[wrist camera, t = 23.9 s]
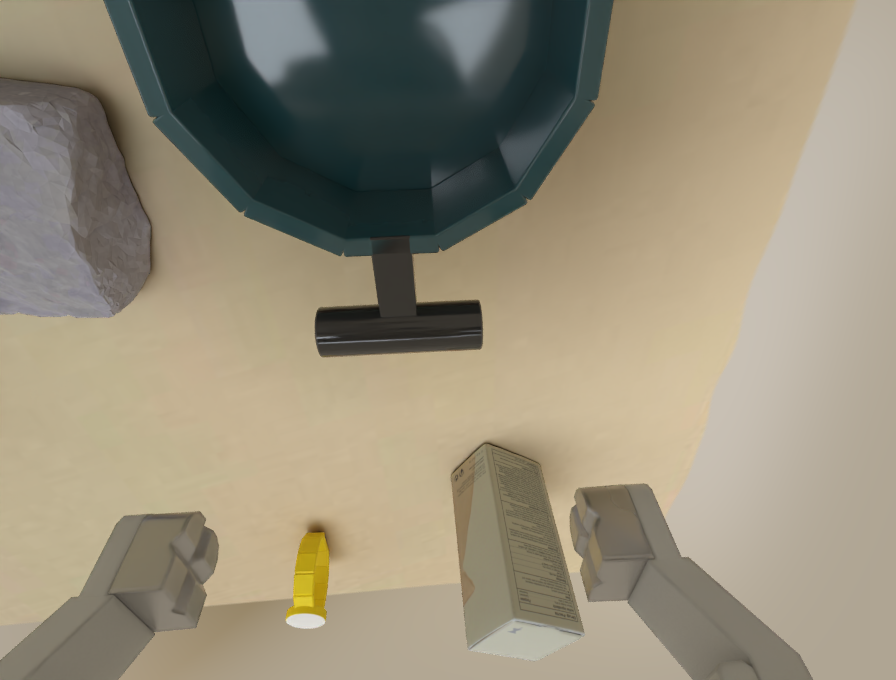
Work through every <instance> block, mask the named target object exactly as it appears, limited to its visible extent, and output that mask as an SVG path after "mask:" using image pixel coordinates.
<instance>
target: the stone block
mask: <svg viewBox="0 0 896 680" xmlns="http://www.w3.org/2000/svg"><path fill="white" fill-rule="evenodd" d="M150 237H151V225H150V223H149V220H148V218H147V216H146V214H145V212H144V211H143V209H142V207H141V205H140V202H139V199H138V197H137V194H136V192H135V190H134V189H133V187H132V184H131V182H130V179H129V176H128V174H127V171H126V168H125V161H124V158H123V156H122V154H121V153H120V151H119V149H118V147H117V145H116V142H115V140H114V137H113V135H112V132H111V130H110V127H109V125H108V123H107V118H106V114H105V112H104V110H103V107H102V105H101V103H100V101H99V100H98V98H97V97H95V96H94V95H92V94H91V93H88V92H86V91H83V90H81V89H78V88H74V87H66V86H61V85H55V84H46V83H37V82H25V81H18V80H12V79H5V78H0V314H15V313H18V312H19V313H22V314H26V315H35V316H39V317H48V316H50V317H61V316H67V315H70V316H73V317H75V318H100V317H108V318H109V317H112V316H114V315H115V314H116V313H119V312H120V311H121V310H122V309H123V308H125V307H126V306H127V305H128V304H129V303H131V302H132V301H133V300H134V298H135V297H136V296H137V294H138V292H139V291H140V290H141V288H142V286H143V284H144V282H145V280H146V278H147V276H148V275H149V274H150V267H151V262H150Z"/></svg>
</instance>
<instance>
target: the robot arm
mask: <svg viewBox="0 0 896 680" xmlns="http://www.w3.org/2000/svg"><path fill="white" fill-rule="evenodd" d="M574 498H575V501H576V505H575V506H574V507H572V508H571V513H570V531H571V537H572V542H573V546H574V550H575V551H576V552H577V553H578V554H579V555H580V556H581V557H582V558H583V562H582V565H581V569H580V573H581V576H582V580H583V584H584V587H585V591H586V595H587V598H588V601H589V602H596V601H621V600H628V604H629V605H630V606H631V607H632V608H633V609H634V611H635V612H636V613H637V614H638V615H639V617H641V619H642V620H643V621H644V623H645V624H646V625H647V626H648V627H649V628H650V629H651V630H652V632H653V633H654V634H655V635H656V637H657V638H658V639H659V640H660V641H661V642H662V644H663V645H664V646H665V647H666V649H667V650H668V651H669V652H670V653H671V654H672V656H673V657H674V658H675V659H676V660H677V661H678V663H679V664H680V665H681V666H682V667H683V669H685V671H686V672H687V673H688V674H689V676H690V677H691V678H692V679H693V680H813V679H812V677H811V675H810V673H809V671H808V669H807V667H806V666H805V664H804V662H803V660H802V658H801V656H800V655H799V654H798V653H797V652H796V651H795V650H794V649H793V648H791V647H790V646H789V645H788V644H787V643H786V642H785V641H783V640H782V639H781V638H780V637H779V636H778V635H777V634H776V633H774V632H773V631H772V630H771V629H770V628H769V627H768V626H766V625H765V624H764V623H763V622H762V621H761V620H760V619H758V618H757V617H756V616H755V615H754V614H753V613H752V612H750V611H749V610H748V609H747V608H746V607H745V606H744V605H742V604H741V603H740V602H739V601H738V600H737V599H735V598H734V597H733V596H732V595H731V594H730V593H729V592H728V591H727V590H725V589H724V588H723V587H722V586H721V585H720V584H719V583H717V582H716V581H715V580H714V579H713V578H712V577H711V576H709V575H708V574H707V573H706V572H705V571H704V570H703V569H701V568H700V567H699V566H698V565H697V564H696V563H695V562H693V561H692V560H691V559H690V558H689V557H681V555H680V553H679V550H678V548H677V546H676V543H675V541H674V539H673V537H672V534H671V532H670V530H669V528H668V525H667V523H666V521H665V518H664V516H663V514H662V512H661V509H660V507H659V505H658V502H657V500H656V498H655V496H654V493H653V491H652V489H651V488H650V487H649V486H648V485H647V484H644V483H643V484H628V485H609V486H597V487H584V488H578V489H577V490H576V492H575V496H574ZM205 521H206V518H205V517H204V516H203V514H202V513H201V512H200V511H197V512H181V513H165V514H142V515H128V516H124V517H123V518H122V519H121V520H120V521H119V522H118V523H117V524H116V525H115V527H114V529H113V531H112V533H111V535H110V537H109V539H108V541H107V543H106V545H105V547H104V549H103V551H102V552H101V554H100V556H99V558H98V560H97V562H96V564H95V566H94V568H93V570H92V572H91V574H90V576H89V578H88V580H87V582H86V584H85V586H84V587H83V589H82V591H81V593H80V595H79V597H71V598H70V599H69V600H68V601H67V602H66V603H64V604H63V605H62V606H61V607H60V608H59V609H58V610H56V611H55V612H54V613H53V614H52V615H51V616H50V617H49V618H47V619H46V620H45V621H44V622H43V623H42V624H41V625H40V626H38V627H37V628H36V629H35V630H34V631H33V632H32V633H31V634H29V635H28V636H27V637H26V638H25V639H24V640H23V641H21V643H19V644H18V645H17V646H16V647H15V648H14V649H12V650H11V651H10V652H9V653H8V654H7V655H6V656H5V657H3V658H2V659H1V660H0V680H118V679H119V678H120V677H121V675H122V674H123V673H124V672H125V671H126V669H127V668H128V667H129V666H130V665H131V663H132V662H133V661H134V660H135V658H136V657H137V656H138V655H139V653H140V652H141V651H142V650H143V649H144V648H145V646H146V645H147V644H148V643H149V641H150V640H151V639H152V638H153V637H154V635H155V633H154V632H160V631H170V630H181V629H191V628H196V627H197V623H198V620H199V617H200V614H201V611H202V608H203V605H204V602H205V599H206V596H207V594H206V592H205V589H204V586H203V584H204V583H205V582H206V581H207V580H208V579H209V578H210V577H211V575H212V574H213V573H214V570H215V567H216V563H217V560H218V549H219V544H218V540H217V536H216V534H215V533H214V531H213V530H211V529H209V528H207V527H205V526H204V524H205Z"/></svg>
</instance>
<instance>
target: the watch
mask: <svg viewBox="0 0 896 680" xmlns="http://www.w3.org/2000/svg"><path fill="white" fill-rule="evenodd" d="M324 535H325V533H323V532H320V533H307V534H306V535H305V536H304V537H303V538H302V540H301V544H300V547H299V550H298V554H297V560H296V566H295V575H294V589H293V594H294V596H293V601H294V606H292V607H290V608H289V609H288V610H287V614H286V622H287V624H288V625H290V626H293V627H296V628H305V629H309V628H316V627H320V626H322V625H323V624H324V623H325V621H326V613H327V611H326V610H325V609H324V606H325V601H326V595H327V588H328V584H327V583H328V576H329V549H328V546H327V542H326V539H325V536H324Z"/></svg>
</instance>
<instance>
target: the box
mask: <svg viewBox="0 0 896 680" xmlns="http://www.w3.org/2000/svg"><path fill="white" fill-rule="evenodd" d="M451 482H452V492H453V503H454V513H455V523H456V534H457V544H458V554H459V565H460V575H461V586H462V597H463V607H464V618H465V627H466V638H467V648H468V650H470V651H476V652H482V653H489V654H495V655H501V656H507V657H513V658H518V659H523V660H529V661H537V660H539V659H542V658H544V657H546V656H548V655H549V654H551V653H553V652H555V651H557V650H559V649H561V648H563V647H565V646H567V645H569V644H571V643H573V642H575V641H577V640H579V639H580V638H581V637H583V636H584V635H585V633H584V629H583V625H582V621H581V618H580V614H579V610H578V606H577V603H576V599H575V595H574V592H573V588H572V584H571V580H570V576H569V572H568V569H567V565H566V561H565V557H564V554H563V550H562V546H561V542H560V538H559V535H558V531H557V527H556V524H555V520H554V516H553V512H552V509H551V505H550V501H549V497H548V493H547V490H546V486H545V482H544V478H543V474H542V470H541V467H540V464H538V463H536V462H534V461H531V460H529V459H527V458H524V457H522V456H519V455H516V454H513V453H511V452H509V451H506V450H504V449H501V448H497V447H495V446H492V445H489V444H484V445H483V446H481V447H480V448H479V449H478V450H477V451H476V452H475V453H474V454H472V455H471V456H470V457H469V458H468V459H467V460H466V461H465V462H464V463H463V464H462V465H461V466H460V467H459V468H458V469H457V470H456V471H455V472H454V473H453V474H452V475H451Z"/></svg>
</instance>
